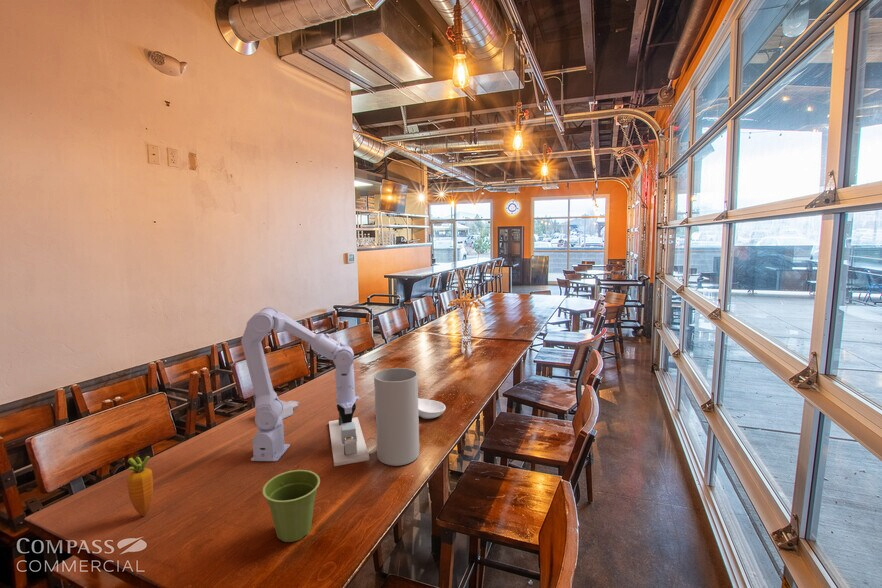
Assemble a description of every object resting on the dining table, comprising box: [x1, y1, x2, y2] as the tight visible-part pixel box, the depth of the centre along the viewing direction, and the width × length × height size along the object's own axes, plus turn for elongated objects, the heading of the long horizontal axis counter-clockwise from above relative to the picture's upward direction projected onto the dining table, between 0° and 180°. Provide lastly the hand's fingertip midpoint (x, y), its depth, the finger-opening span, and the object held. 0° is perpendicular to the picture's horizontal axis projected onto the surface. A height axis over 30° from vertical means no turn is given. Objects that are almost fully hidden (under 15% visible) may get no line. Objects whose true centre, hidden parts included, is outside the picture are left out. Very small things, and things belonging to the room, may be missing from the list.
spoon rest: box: [418, 397, 447, 420], centre depth 152 cm, size 24×12×7 cm, turn 87°
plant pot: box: [262, 469, 321, 543], centre depth 92 cm, size 12×12×11 cm
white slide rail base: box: [328, 412, 370, 467], centre depth 134 cm, size 29×10×6 cm, turn 18°
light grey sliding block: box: [340, 422, 357, 444], centre depth 127 cm, size 5×4×4 cm
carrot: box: [126, 455, 154, 517], centre depth 97 cm, size 5×5×15 cm
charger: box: [279, 399, 300, 420], centre depth 155 cm, size 5×9×15 cm
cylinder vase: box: [373, 367, 420, 467], centre depth 122 cm, size 12×12×25 cm
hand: (347, 426), depth 130 cm, fingers closed
